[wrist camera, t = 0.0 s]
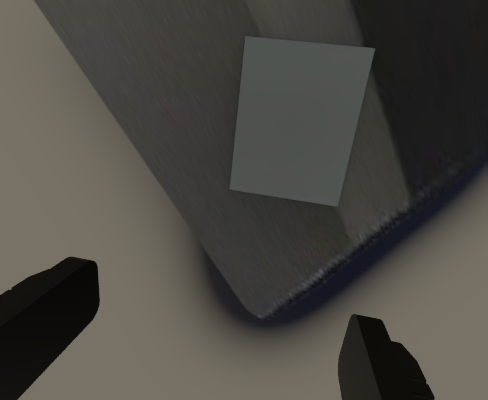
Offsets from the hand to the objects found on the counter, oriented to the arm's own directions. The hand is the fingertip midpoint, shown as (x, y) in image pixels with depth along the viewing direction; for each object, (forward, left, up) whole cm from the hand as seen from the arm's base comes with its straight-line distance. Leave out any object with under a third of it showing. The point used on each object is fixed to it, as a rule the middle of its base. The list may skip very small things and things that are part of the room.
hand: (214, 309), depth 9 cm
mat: (-4, +2, -29) cm, 30 cm away
